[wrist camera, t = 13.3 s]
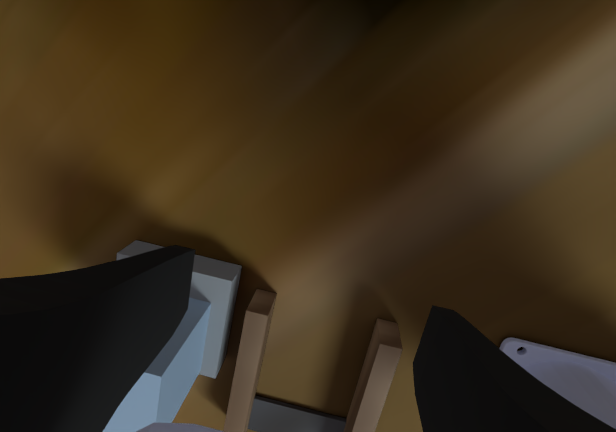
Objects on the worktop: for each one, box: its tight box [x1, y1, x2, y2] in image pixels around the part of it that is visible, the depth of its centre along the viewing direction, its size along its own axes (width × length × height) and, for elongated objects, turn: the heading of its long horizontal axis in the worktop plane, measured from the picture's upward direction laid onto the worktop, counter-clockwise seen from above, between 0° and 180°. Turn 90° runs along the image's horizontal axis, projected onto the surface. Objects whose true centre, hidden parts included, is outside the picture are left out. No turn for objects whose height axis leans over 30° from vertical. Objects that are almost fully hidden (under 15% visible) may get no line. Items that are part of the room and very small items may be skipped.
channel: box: [223, 289, 403, 432], centre depth 24 cm, size 8×10×2 cm
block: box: [103, 298, 211, 432], centre depth 20 cm, size 4×4×6 cm
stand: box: [117, 240, 242, 378], centre depth 24 cm, size 6×6×2 cm
